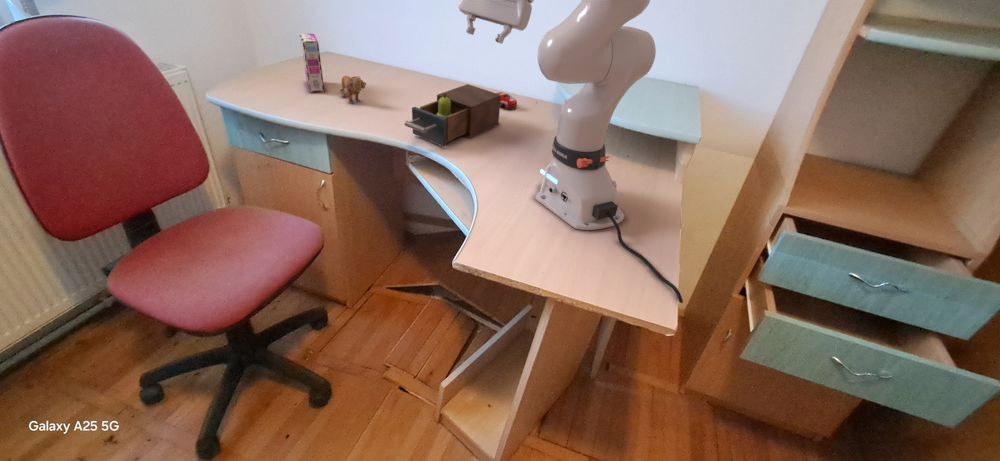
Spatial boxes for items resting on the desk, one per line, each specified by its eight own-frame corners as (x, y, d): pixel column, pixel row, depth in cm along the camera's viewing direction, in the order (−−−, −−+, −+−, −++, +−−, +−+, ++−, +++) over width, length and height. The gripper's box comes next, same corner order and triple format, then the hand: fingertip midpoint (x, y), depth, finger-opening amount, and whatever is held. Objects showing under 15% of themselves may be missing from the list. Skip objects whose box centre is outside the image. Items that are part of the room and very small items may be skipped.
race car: (479, 101, 160) (480, 89, 158) (489, 97, 164) (489, 86, 161) (509, 111, 154) (510, 100, 152) (518, 107, 158) (519, 96, 155)
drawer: (430, 152, 123) (430, 125, 118) (398, 139, 128) (397, 112, 123) (473, 132, 136) (474, 107, 131) (443, 120, 141) (443, 96, 136)
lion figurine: (369, 104, 149) (367, 76, 144) (355, 107, 146) (352, 79, 141) (347, 90, 157) (344, 64, 152) (333, 93, 154) (329, 66, 149)
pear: (457, 129, 134) (458, 93, 128) (445, 134, 130) (445, 98, 124) (443, 123, 136) (443, 88, 130) (431, 128, 133) (430, 92, 126)
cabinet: (470, 138, 134) (471, 106, 129) (436, 125, 140) (436, 94, 134) (498, 124, 145) (500, 94, 139) (466, 112, 150) (467, 84, 145)
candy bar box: (325, 92, 155) (318, 41, 145) (310, 93, 153) (301, 41, 143) (321, 81, 163) (314, 32, 153) (306, 82, 161) (298, 33, 151)
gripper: (464, -29, 119) (446, 24, 121) (531, -13, 111) (510, 43, 114) (476, -18, 124) (458, 32, 127) (540, -2, 117) (520, 51, 119)
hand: (483, 37), depth 120 cm, fingers open, 8 cm apart
